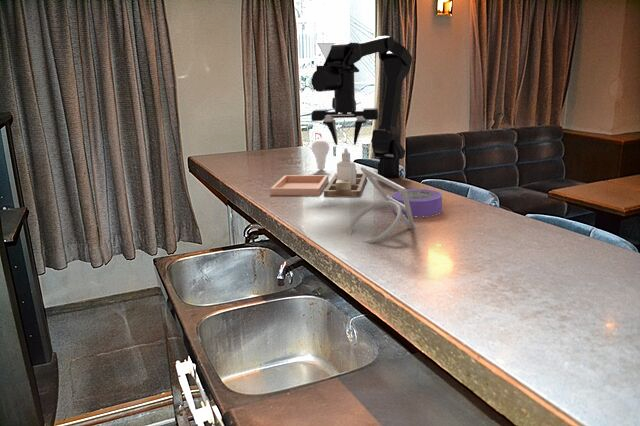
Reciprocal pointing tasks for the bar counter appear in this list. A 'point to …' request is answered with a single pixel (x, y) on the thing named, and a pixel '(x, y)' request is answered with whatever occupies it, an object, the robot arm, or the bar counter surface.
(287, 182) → the tray
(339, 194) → the frame
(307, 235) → the bar counter surface
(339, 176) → the eye dropper bottle
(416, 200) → the tape roll
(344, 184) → the block
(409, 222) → the wire frame
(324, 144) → the lightbulb
